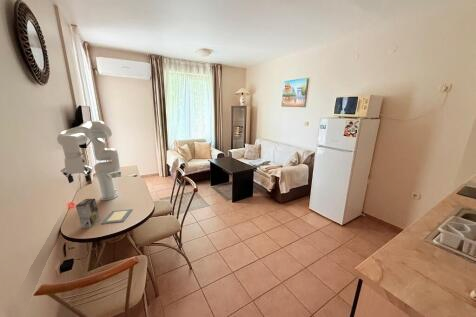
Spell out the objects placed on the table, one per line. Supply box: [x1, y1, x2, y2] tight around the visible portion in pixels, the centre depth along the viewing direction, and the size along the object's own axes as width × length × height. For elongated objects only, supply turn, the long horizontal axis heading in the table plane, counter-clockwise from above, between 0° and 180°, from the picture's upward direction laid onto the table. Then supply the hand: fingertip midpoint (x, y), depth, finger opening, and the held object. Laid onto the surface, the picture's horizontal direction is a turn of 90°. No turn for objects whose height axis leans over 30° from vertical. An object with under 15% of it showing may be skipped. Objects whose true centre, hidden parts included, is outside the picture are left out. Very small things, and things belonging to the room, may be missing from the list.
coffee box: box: [75, 198, 101, 229], centre depth 125 cm, size 9×6×16 cm
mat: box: [100, 208, 134, 225], centre depth 134 cm, size 16×14×1 cm
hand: (80, 181), depth 119 cm, fingers open, 9 cm apart
